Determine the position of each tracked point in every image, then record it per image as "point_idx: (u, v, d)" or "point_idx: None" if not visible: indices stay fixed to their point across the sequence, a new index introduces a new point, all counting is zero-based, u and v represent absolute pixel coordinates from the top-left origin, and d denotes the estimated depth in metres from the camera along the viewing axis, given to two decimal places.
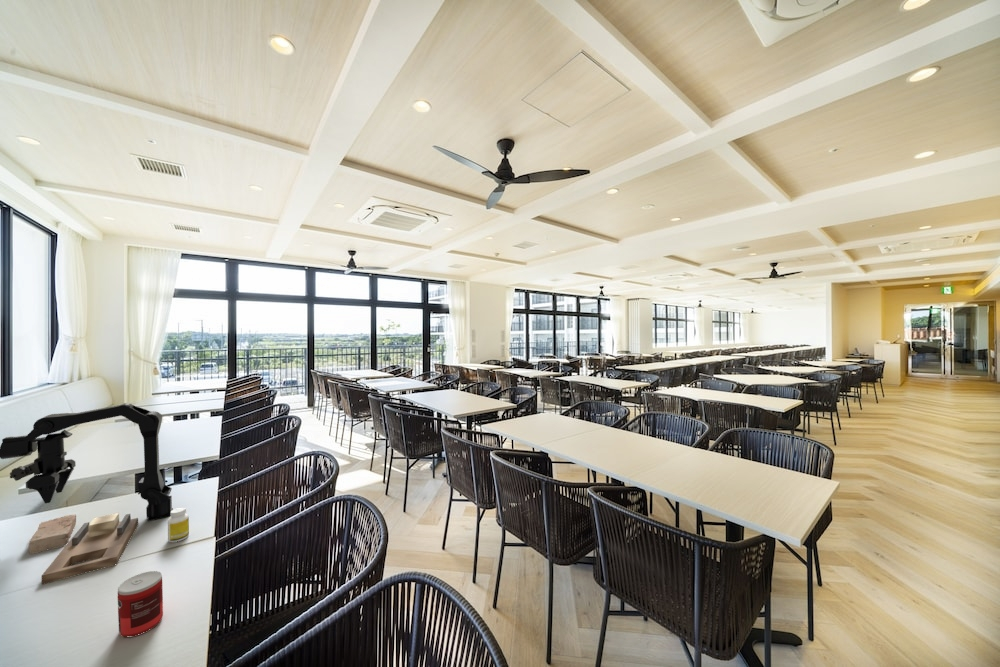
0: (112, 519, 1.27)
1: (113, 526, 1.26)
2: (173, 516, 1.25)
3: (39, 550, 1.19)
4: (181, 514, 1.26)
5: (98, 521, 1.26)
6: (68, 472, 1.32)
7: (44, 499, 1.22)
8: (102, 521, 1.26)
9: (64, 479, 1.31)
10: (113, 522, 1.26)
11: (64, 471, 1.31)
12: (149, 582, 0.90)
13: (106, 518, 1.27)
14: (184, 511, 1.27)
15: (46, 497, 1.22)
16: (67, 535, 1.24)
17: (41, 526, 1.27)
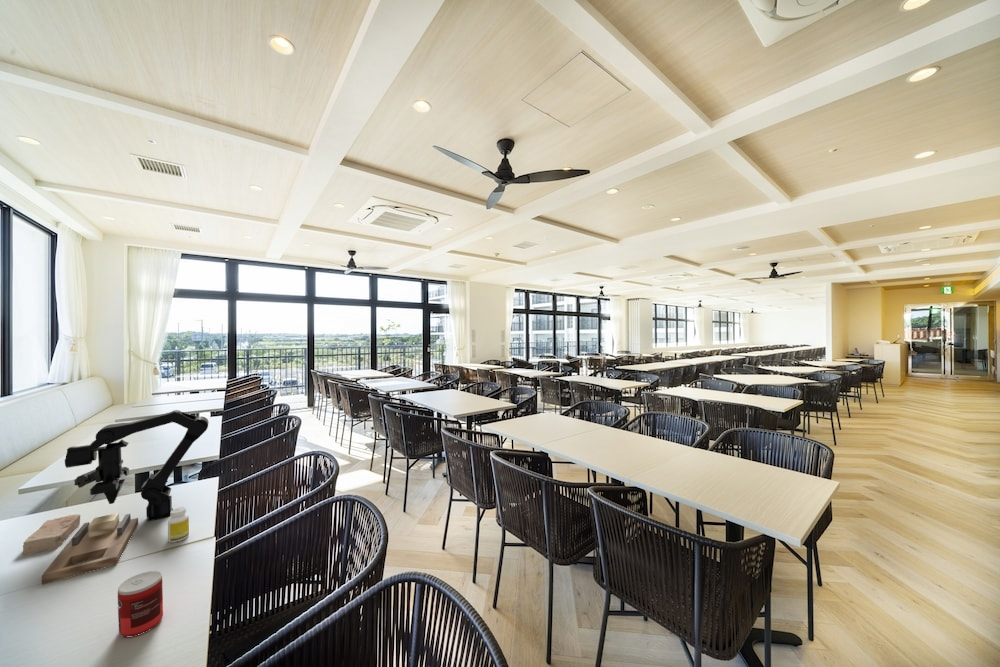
0: (112, 519, 1.27)
1: (113, 526, 1.26)
2: (173, 516, 1.25)
3: (32, 551, 1.19)
4: (181, 514, 1.26)
5: (98, 521, 1.26)
6: None
7: (109, 500, 1.33)
8: (102, 521, 1.26)
9: (117, 490, 1.35)
10: (113, 522, 1.26)
11: None
12: (149, 582, 0.90)
13: (106, 518, 1.27)
14: (184, 511, 1.27)
15: (111, 498, 1.33)
16: (60, 537, 1.22)
17: (43, 525, 1.28)
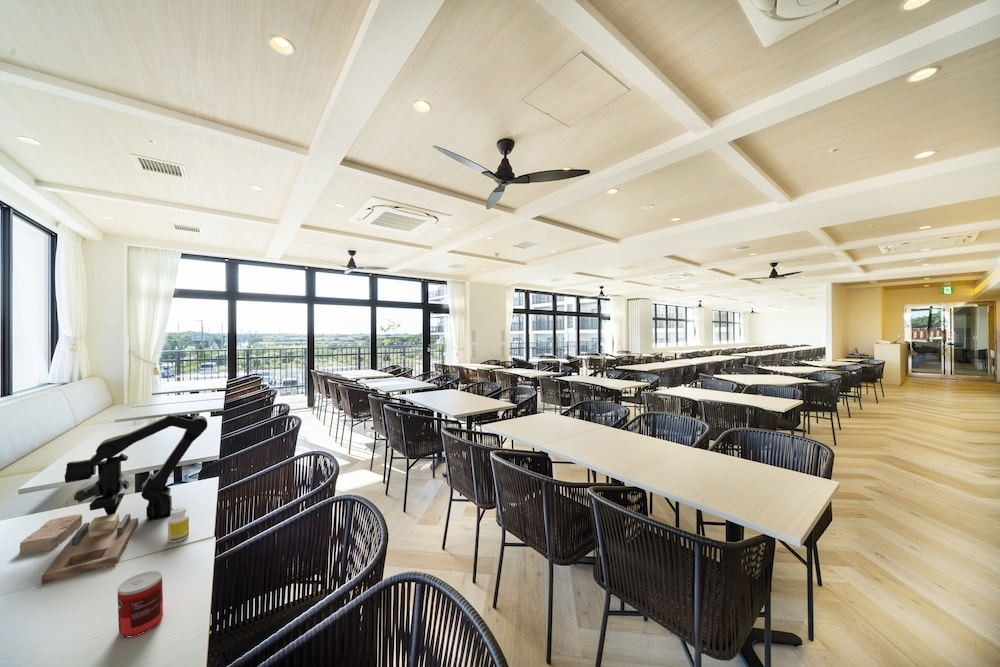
0: (112, 519, 1.27)
1: (113, 526, 1.26)
2: (173, 516, 1.25)
3: (28, 552, 1.18)
4: (181, 514, 1.26)
5: (98, 521, 1.26)
6: (120, 497, 1.35)
7: (108, 514, 1.33)
8: (102, 521, 1.26)
9: None
10: (113, 522, 1.26)
11: None
12: (149, 582, 0.90)
13: (106, 518, 1.27)
14: (184, 511, 1.27)
15: (110, 513, 1.33)
16: (56, 539, 1.22)
17: (45, 524, 1.28)
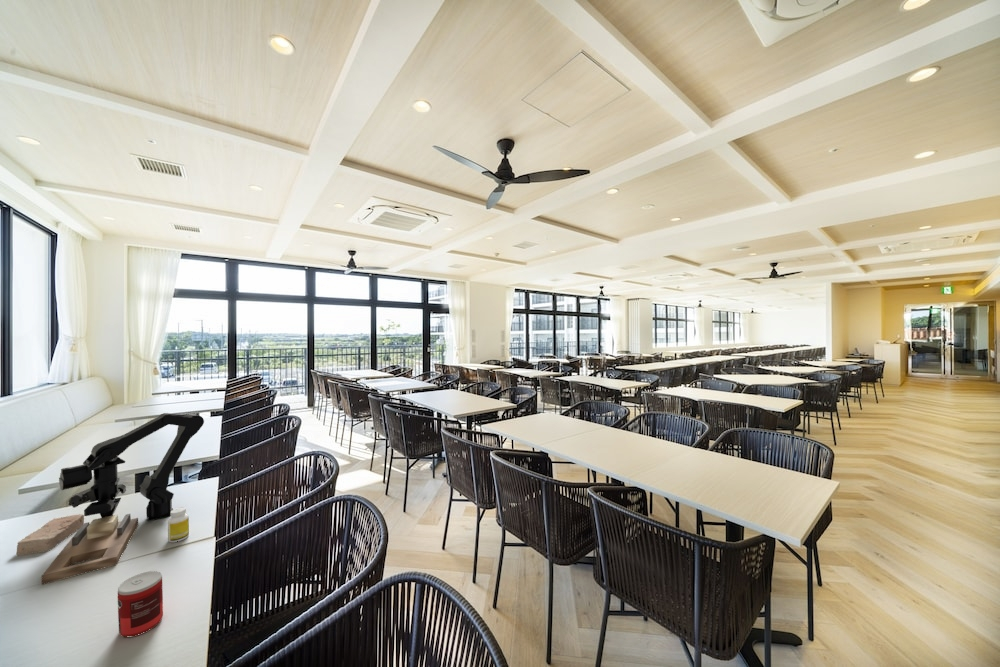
0: (111, 521, 1.25)
1: (112, 528, 1.25)
2: (173, 516, 1.25)
3: (24, 552, 1.18)
4: (181, 514, 1.26)
5: (96, 522, 1.25)
6: None
7: None
8: (101, 522, 1.25)
9: None
10: (112, 524, 1.25)
11: None
12: (149, 582, 0.90)
13: (104, 520, 1.26)
14: (184, 511, 1.27)
15: None
16: (51, 540, 1.21)
17: (47, 524, 1.28)
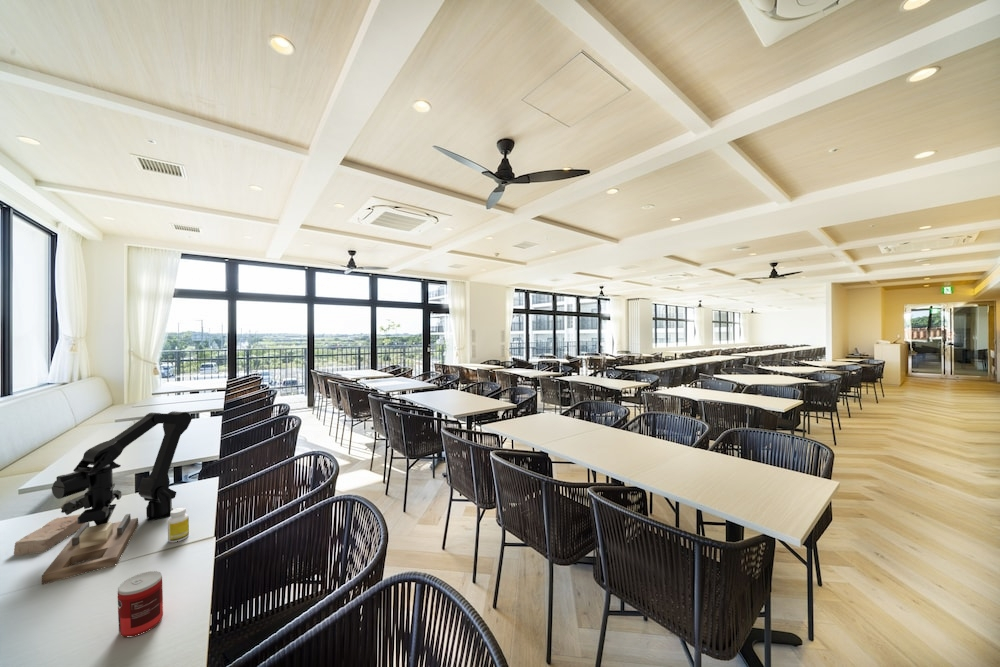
0: (105, 529, 1.21)
1: (105, 536, 1.20)
2: (173, 516, 1.25)
3: (21, 553, 1.18)
4: (181, 514, 1.26)
5: (90, 530, 1.20)
6: None
7: None
8: (94, 530, 1.20)
9: None
10: (105, 532, 1.20)
11: None
12: (149, 582, 0.90)
13: (98, 528, 1.21)
14: (184, 511, 1.27)
15: None
16: (47, 541, 1.20)
17: (48, 523, 1.29)
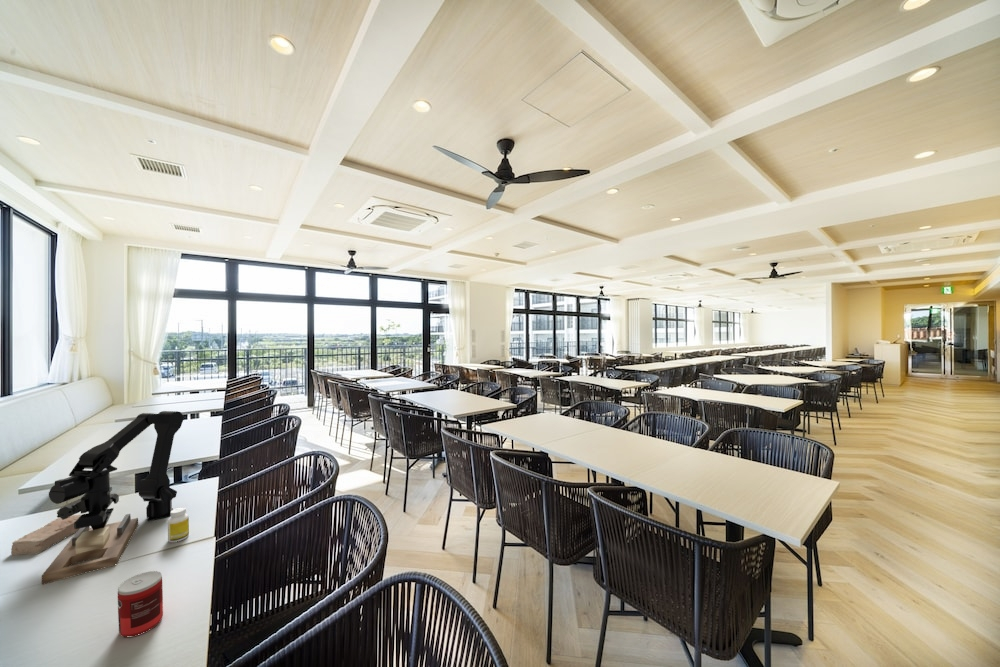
0: (102, 534, 1.18)
1: (102, 541, 1.17)
2: (173, 516, 1.25)
3: (17, 553, 1.18)
4: (181, 514, 1.26)
5: (86, 535, 1.17)
6: None
7: None
8: (91, 535, 1.17)
9: None
10: (102, 537, 1.17)
11: None
12: (149, 582, 0.90)
13: (95, 533, 1.18)
14: (184, 511, 1.27)
15: None
16: (42, 542, 1.20)
17: (51, 522, 1.29)
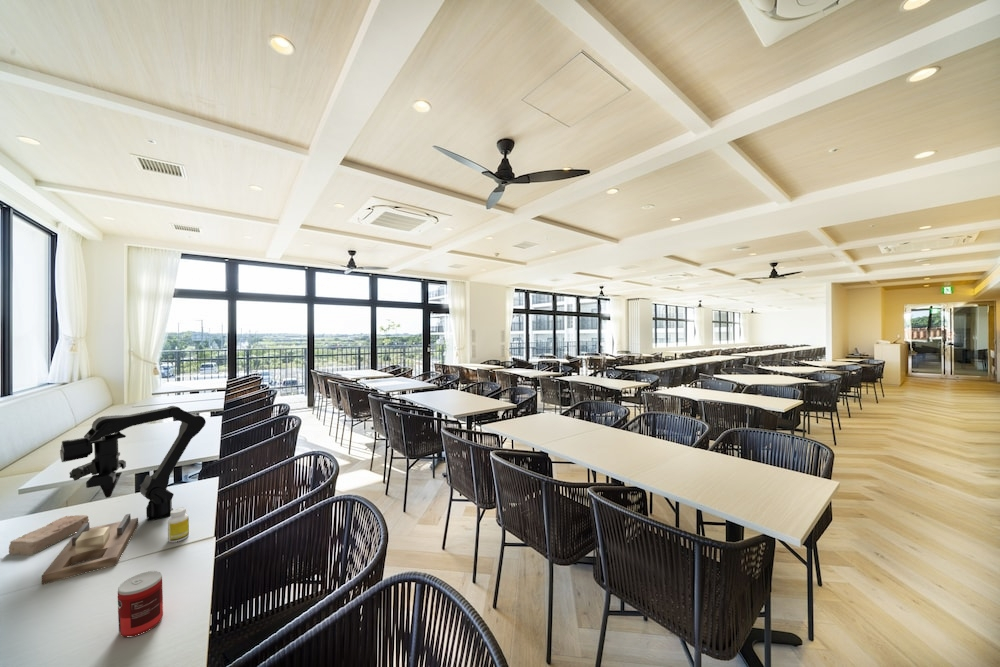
0: (102, 534, 1.18)
1: (102, 541, 1.17)
2: (173, 516, 1.25)
3: (14, 552, 1.18)
4: (181, 514, 1.26)
5: (86, 535, 1.17)
6: None
7: (105, 493, 1.29)
8: (91, 535, 1.17)
9: None
10: (102, 537, 1.17)
11: None
12: (149, 582, 0.90)
13: (95, 533, 1.18)
14: (184, 511, 1.27)
15: (107, 492, 1.29)
16: (36, 544, 1.19)
17: (53, 522, 1.30)
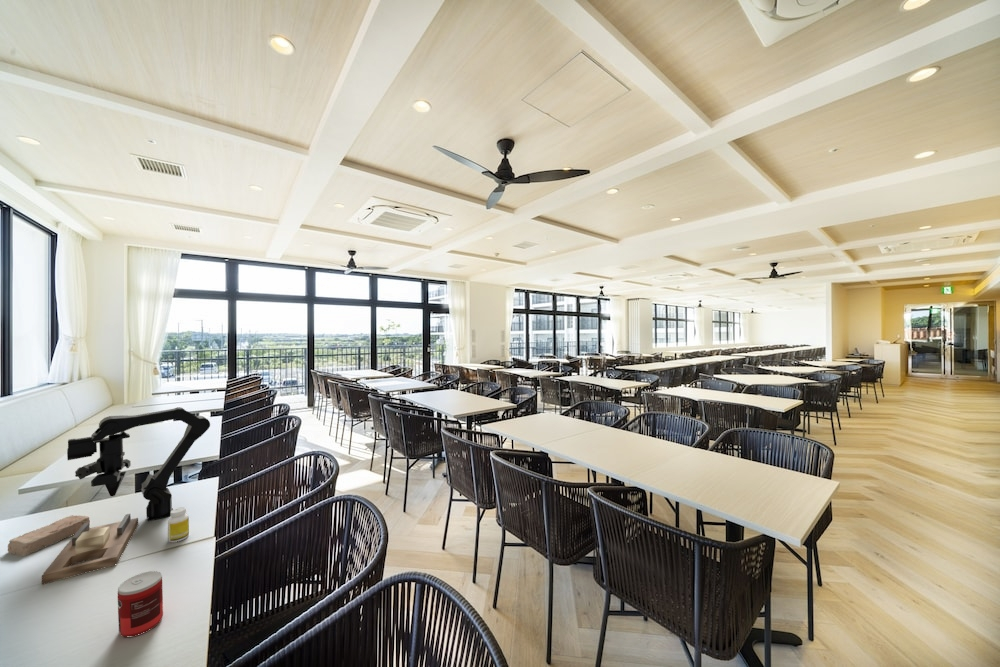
0: (102, 534, 1.18)
1: (102, 541, 1.17)
2: (173, 516, 1.25)
3: (11, 552, 1.18)
4: (181, 514, 1.26)
5: (86, 535, 1.17)
6: None
7: (110, 492, 1.31)
8: (91, 535, 1.17)
9: None
10: (102, 537, 1.17)
11: None
12: (149, 582, 0.90)
13: (95, 533, 1.18)
14: (184, 511, 1.27)
15: (112, 490, 1.31)
16: (29, 545, 1.18)
17: (57, 521, 1.30)
